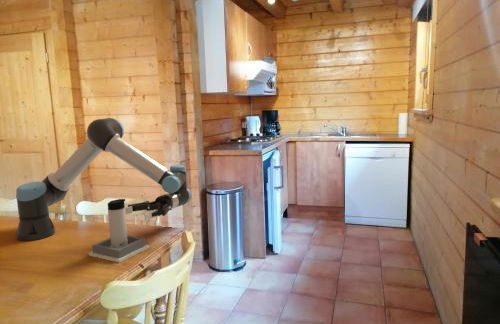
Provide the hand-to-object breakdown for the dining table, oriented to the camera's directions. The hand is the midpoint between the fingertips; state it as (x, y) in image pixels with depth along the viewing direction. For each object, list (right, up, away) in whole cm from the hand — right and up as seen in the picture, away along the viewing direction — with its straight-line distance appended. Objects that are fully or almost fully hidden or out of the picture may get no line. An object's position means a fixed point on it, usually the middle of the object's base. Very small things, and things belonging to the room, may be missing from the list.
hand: (132, 215), depth 152 cm
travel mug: (-3, -13, -5) cm, 14 cm away
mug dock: (-3, -14, -5) cm, 15 cm away
